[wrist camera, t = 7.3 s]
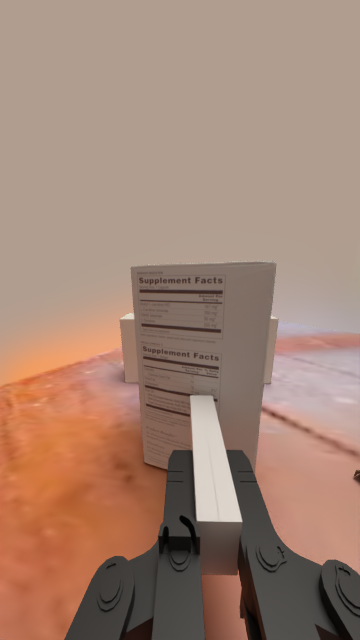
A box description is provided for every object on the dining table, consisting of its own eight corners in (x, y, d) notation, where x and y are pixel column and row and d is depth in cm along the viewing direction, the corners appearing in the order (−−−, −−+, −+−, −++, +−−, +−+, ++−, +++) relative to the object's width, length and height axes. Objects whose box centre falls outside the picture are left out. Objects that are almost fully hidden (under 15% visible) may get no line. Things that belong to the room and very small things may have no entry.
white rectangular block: (270, 383, 28) (278, 318, 26) (125, 382, 29) (119, 319, 26) (260, 370, 32) (266, 312, 30) (132, 369, 33) (128, 313, 30)
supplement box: (254, 501, 14) (282, 258, 10) (140, 465, 16) (124, 263, 12) (248, 411, 23) (261, 265, 18) (175, 397, 25) (173, 267, 21)
